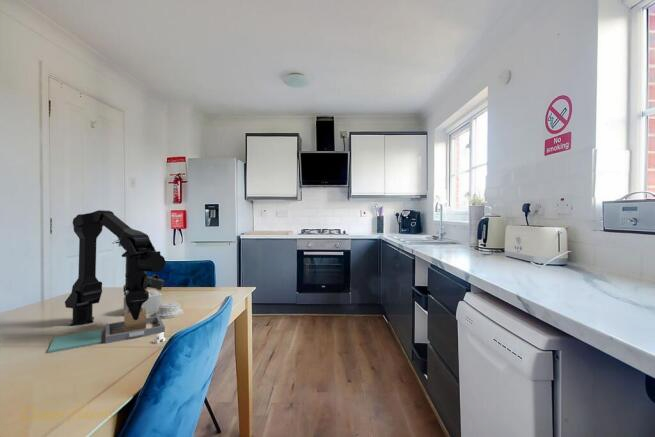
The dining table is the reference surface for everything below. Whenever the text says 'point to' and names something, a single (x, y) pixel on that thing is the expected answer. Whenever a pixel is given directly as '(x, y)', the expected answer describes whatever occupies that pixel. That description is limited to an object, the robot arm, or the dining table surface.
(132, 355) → the dining table surface
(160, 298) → the lumpy-topped squat cylinder
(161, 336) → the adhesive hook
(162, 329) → the grey tapered frame
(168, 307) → the mechanical component
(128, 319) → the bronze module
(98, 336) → the service mat
